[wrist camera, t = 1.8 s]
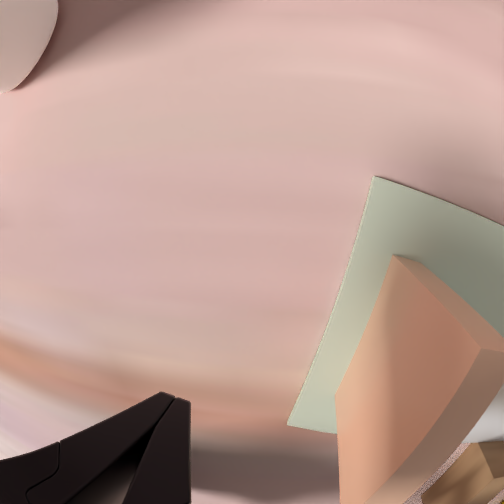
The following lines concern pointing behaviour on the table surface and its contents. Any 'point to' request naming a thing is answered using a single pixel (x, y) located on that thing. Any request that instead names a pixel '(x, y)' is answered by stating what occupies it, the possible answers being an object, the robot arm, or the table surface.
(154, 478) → the robot arm
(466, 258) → the felt mat
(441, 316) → the tile
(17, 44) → the grey cylinder
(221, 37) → the table surface
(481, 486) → the turner
